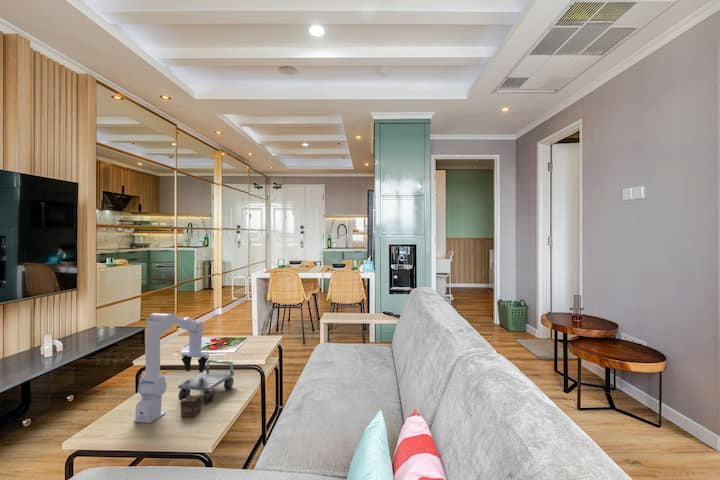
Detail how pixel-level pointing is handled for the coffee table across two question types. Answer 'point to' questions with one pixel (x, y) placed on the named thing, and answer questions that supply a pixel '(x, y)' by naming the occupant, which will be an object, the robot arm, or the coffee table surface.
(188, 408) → the box
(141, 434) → the coffee table surface
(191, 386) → the trolley
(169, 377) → the coffee table surface
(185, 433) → the coffee table surface
